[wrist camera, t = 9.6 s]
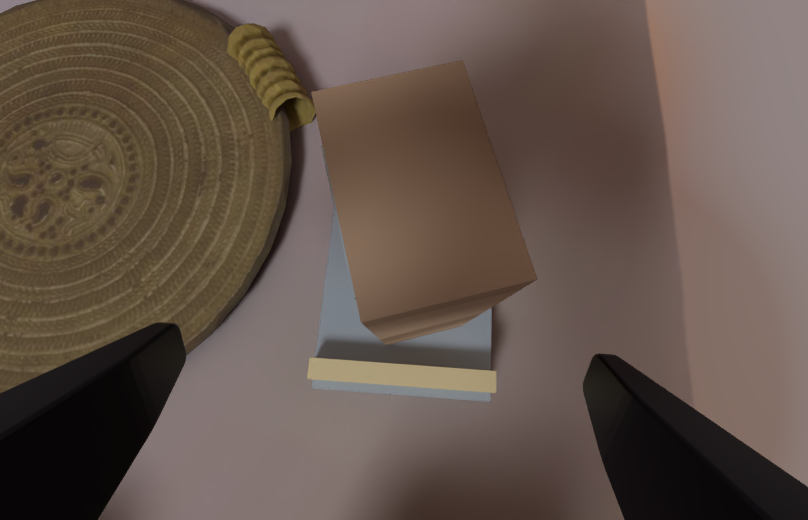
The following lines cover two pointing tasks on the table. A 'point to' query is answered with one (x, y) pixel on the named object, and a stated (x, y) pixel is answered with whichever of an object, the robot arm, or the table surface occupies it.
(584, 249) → the table surface
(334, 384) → the rail board
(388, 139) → the wooden box
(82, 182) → the decorative disc
